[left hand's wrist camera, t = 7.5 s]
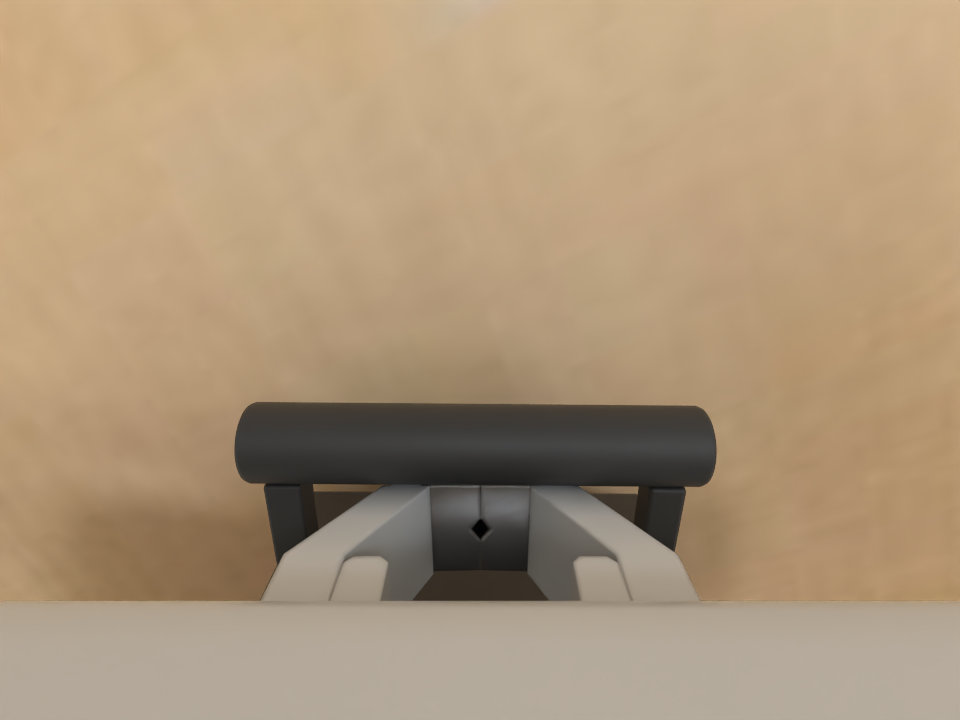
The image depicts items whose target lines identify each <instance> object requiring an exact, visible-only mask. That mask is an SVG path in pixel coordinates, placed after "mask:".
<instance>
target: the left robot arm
mask: <svg viewBox="0 0 960 720" xmlns="http://www.w3.org/2000/svg"><path fill="white" fill-rule="evenodd" d="M480 554H481V570H496V571H527V574H528V575H529V576H530V577H531V579H532V580H533V581H534V582H535V584H536V585H537V586H538V587H539V589H540V590H541V591H542V592H543V594H544V595H545V596H546V597H547V599H548V600H549V601H412V600H413V599H414V598H415V596H416V595H417V594H418V593H419V591H420V590H421V589H422V588H423V586H424V585H425V584H426V583H427V581H428V580H429V579H430V578H431V576H432V575H433V571H463V570H480ZM0 720H960V601H700V599H699V597H698V595H697V593H696V591H695V589H694V587H693V585H692V583H691V580H690V578H689V576H688V574H687V572H686V570H685V568H684V566H683V564H682V562H681V560H680V558H679V556H678V555H677V554H676V553H675V552H673V551H672V550H670V549H669V548H667V547H666V546H664V545H663V544H661V543H660V542H659V541H657V540H656V539H654V538H653V537H651V536H650V535H648V534H647V533H646V532H644V531H643V530H641V529H640V528H638V527H637V526H635V525H634V524H633V523H631V522H630V521H628V520H627V519H625V518H624V517H622V516H621V515H620V514H618V513H617V512H615V511H614V510H612V509H611V508H609V507H608V506H607V505H605V504H604V503H602V502H601V501H599V500H598V499H596V498H595V497H594V496H592V495H591V494H589V493H588V492H586V491H585V490H583V489H582V488H581V487H579V486H530V485H397V484H390V486H382V487H380V488H379V489H377V490H376V491H374V492H373V493H372V494H370V495H369V496H367V497H366V498H364V499H363V500H361V501H360V502H358V503H357V504H356V505H354V506H353V507H351V508H350V509H348V510H347V511H345V512H344V513H343V514H341V515H340V516H338V517H337V518H335V519H334V520H332V521H331V522H329V523H328V524H327V525H325V526H324V527H322V528H321V529H319V530H318V531H316V532H315V533H314V534H312V535H311V536H309V537H308V538H306V539H305V540H303V541H302V542H300V543H299V544H298V545H296V546H295V547H293V548H292V549H290V550H289V551H287V552H286V553H285V554H284V555H283V557H282V559H281V561H280V563H279V565H278V567H277V569H276V571H275V573H274V575H273V577H272V579H271V581H270V583H269V585H268V587H267V589H266V591H265V593H264V595H263V597H262V599H261V601H0Z"/></svg>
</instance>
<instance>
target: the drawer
mask: <svg viewBox="0 0 960 720" xmlns="http://www.w3.org/2000/svg"><path fill="white" fill-rule="evenodd" d="M235 461H236V466H237V470H238V473H239V475H240V476H241V478H242V479H243V480H244V481H246V482H248V483H264V484H265V486H264V492H265V498H266V503H267V509H268V515H269V520H270V526H271V532H272V538H273V543H274V549H275V555H276V561H277V567H278V565H279V563H280V561H281V559H282V557H283V555H284V554H285V553H286V552H287V551H289V550H290V549H292V548H293V547H295V546H296V545H298V544H299V543H300V542H302V541H303V540H305V539H306V538H308V537H309V536H311V535H312V534H314V533H315V532H316V531H318V530H319V529H321V528H322V527H324V526H325V525H327V524H328V523H329V522H331V521H332V520H334V519H335V518H337V517H338V516H340V515H341V514H343V513H344V512H345V511H347V510H348V509H350V508H351V507H353V506H354V505H356V504H357V503H358V502H360V501H361V500H363V499H364V498H366V497H367V496H369V495H370V494H372V493H373V492H314V491H313V484H397V485H530V486H639V490H638V495H637V494H591V495H592V496H594V497H595V498H596V499H598V500H599V501H601V502H602V503H604V504H605V505H607V506H608V507H609V508H611V509H612V510H614V511H615V512H617V513H618V514H620V515H621V516H622V517H624V518H625V519H627V520H628V521H630V522H631V523H633V524H634V525H635V526H637V527H638V528H640V529H641V530H643V531H644V532H646V533H647V534H648V535H650V536H651V537H653V538H654V539H656V540H657V541H659V542H660V543H661V544H663V545H664V546H666V547H667V548H669V549H670V550H672V551H673V552H675V546H676V541H677V536H678V531H679V526H680V521H681V515H682V510H683V505H684V500H685V495H686V490H685V488H684V487H700V486H703V485H705V484H707V483H708V482H709V481H710V479H711V478H712V475H713V473H714V469H715V464H716V439H715V433H714V429H713V426H712V423H711V420H710V418H709V416H708V415H707V413H706V412H705V411H704V410H703V409H701V408H699V407H697V406H647V405H530V404H412V403H295V402H256V403H253V404H251V405H249V406H248V407H247V408H246V409H245V411H244V412H243V414H242V416H241V418H240V421H239V424H238V427H237V431H236V437H235ZM277 567H276V569H277ZM276 569H275V571H276ZM275 571H274V573H275ZM274 573H273V575H274ZM273 575H272V577H273ZM272 577H271V579H272ZM271 579H270V581H271ZM270 581H269V583H270ZM269 583H268V585H269ZM268 585H267V587H268ZM267 587H266V589H267ZM266 589H265V591H266ZM265 591H264V593H265ZM264 593H263V595H264ZM263 595H262V597H263ZM262 597H261V599H262ZM261 599H260V601H261ZM412 601H549V600H548V599H547V597H546V596H545V595H544V594H543V592H542V591H541V590H540V589H539V587H538V586H537V585H536V584H535V582H534V581H533V580H532V579H531V577H530V576H529V575H528V574H527V571H496V570H481V554H480V570H463V571H433V575H432V576H431V578H430V579H429V580H428V581H427V583H426V584H425V585H424V586H423V588H422V589H421V590H420V591H419V593H418V594H417V595H416V596H415V598H414V599H413V600H412Z"/></svg>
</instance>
